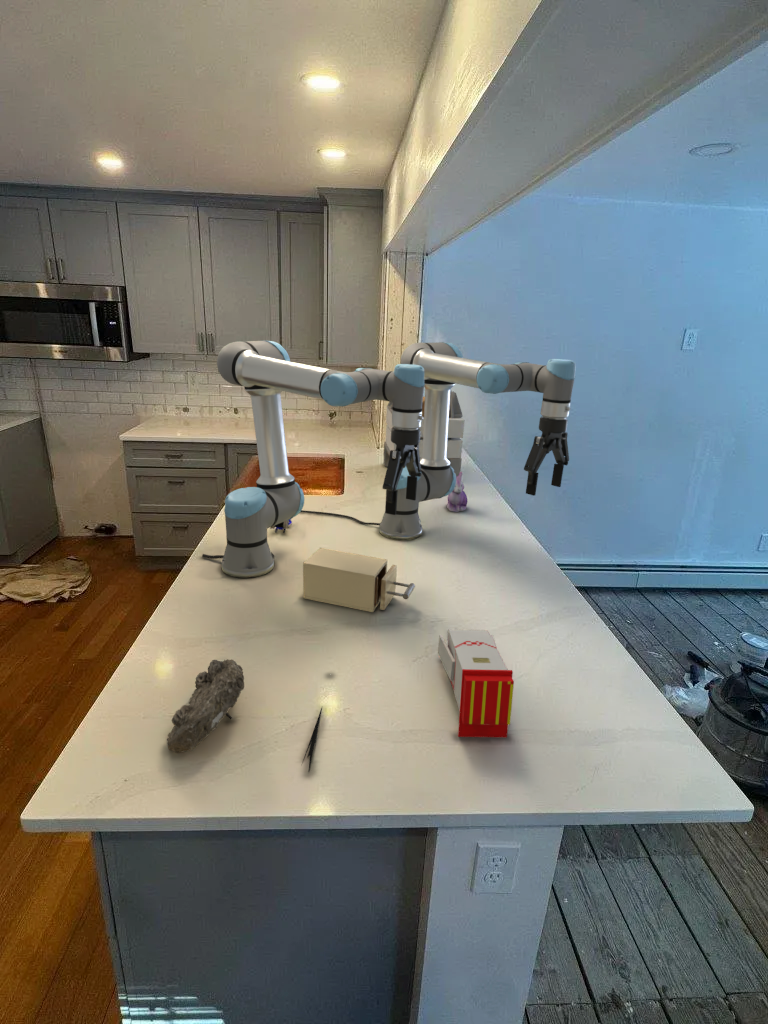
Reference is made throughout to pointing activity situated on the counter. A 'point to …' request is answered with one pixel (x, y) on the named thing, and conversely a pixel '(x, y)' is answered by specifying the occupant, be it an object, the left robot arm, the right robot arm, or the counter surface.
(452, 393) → the transformer
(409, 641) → the counter surface
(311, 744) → the feather
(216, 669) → the fossil
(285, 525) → the figurine character
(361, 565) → the cabinet
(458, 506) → the figurine
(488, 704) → the toy
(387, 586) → the drawer
